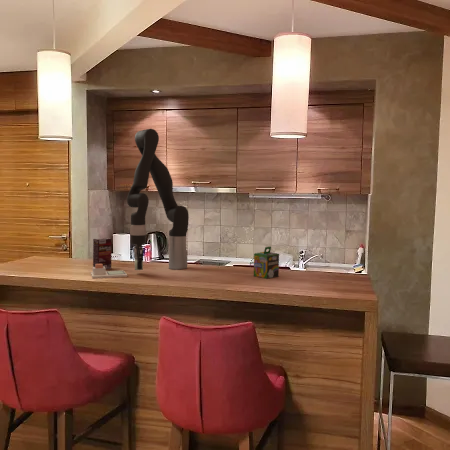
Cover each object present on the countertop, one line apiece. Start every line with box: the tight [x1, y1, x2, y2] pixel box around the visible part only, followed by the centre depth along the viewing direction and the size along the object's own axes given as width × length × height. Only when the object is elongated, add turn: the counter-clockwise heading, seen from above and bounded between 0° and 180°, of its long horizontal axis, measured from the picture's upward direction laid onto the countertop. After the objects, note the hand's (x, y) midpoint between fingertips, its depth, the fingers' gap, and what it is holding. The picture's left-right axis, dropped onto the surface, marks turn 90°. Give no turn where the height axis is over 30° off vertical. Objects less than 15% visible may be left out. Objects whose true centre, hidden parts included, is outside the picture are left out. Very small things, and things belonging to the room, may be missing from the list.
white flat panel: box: [90, 269, 128, 279], centre depth 234 cm, size 16×12×1 cm
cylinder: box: [134, 257, 144, 271], centre depth 238 cm, size 4×4×6 cm
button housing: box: [92, 266, 107, 275], centre depth 232 cm, size 6×6×3 cm
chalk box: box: [253, 246, 280, 280], centre depth 237 cm, size 9×9×15 cm
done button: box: [95, 264, 103, 268], centre depth 232 cm, size 3×3×2 cm
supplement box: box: [92, 237, 113, 270], centre depth 251 cm, size 9×5×16 cm, turn 143°
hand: (138, 268), depth 238 cm, fingers closed on cylinder, 4 cm apart
